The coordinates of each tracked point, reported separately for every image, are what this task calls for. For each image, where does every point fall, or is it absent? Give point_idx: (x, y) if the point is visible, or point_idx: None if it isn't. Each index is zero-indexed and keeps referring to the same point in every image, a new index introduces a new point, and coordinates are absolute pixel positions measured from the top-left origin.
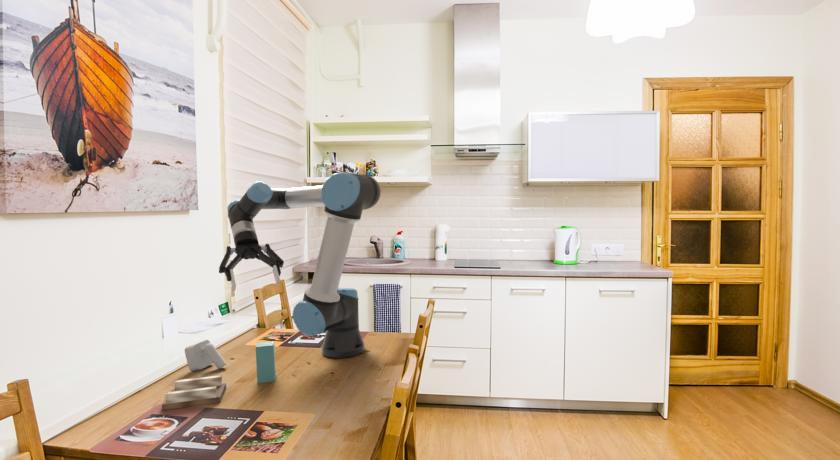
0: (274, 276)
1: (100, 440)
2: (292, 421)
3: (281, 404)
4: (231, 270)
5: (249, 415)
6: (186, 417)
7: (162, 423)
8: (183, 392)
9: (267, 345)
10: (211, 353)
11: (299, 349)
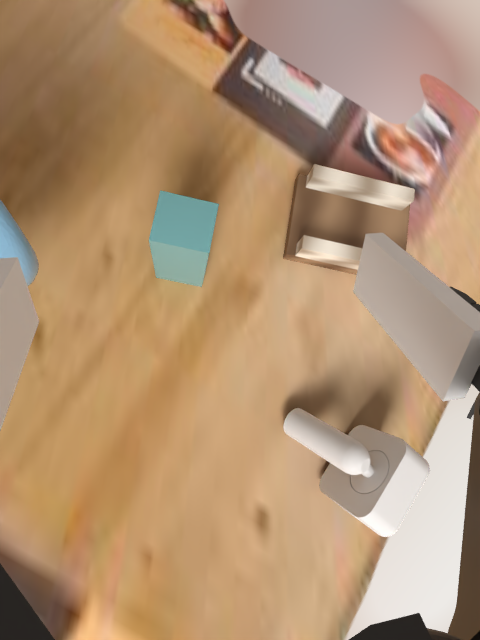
0: (12, 382)
1: (475, 135)
2: (168, 16)
3: (174, 98)
4: (474, 318)
5: (241, 86)
6: (354, 145)
7: (392, 144)
8: (379, 180)
9: (179, 199)
10: (339, 431)
11: (24, 513)
